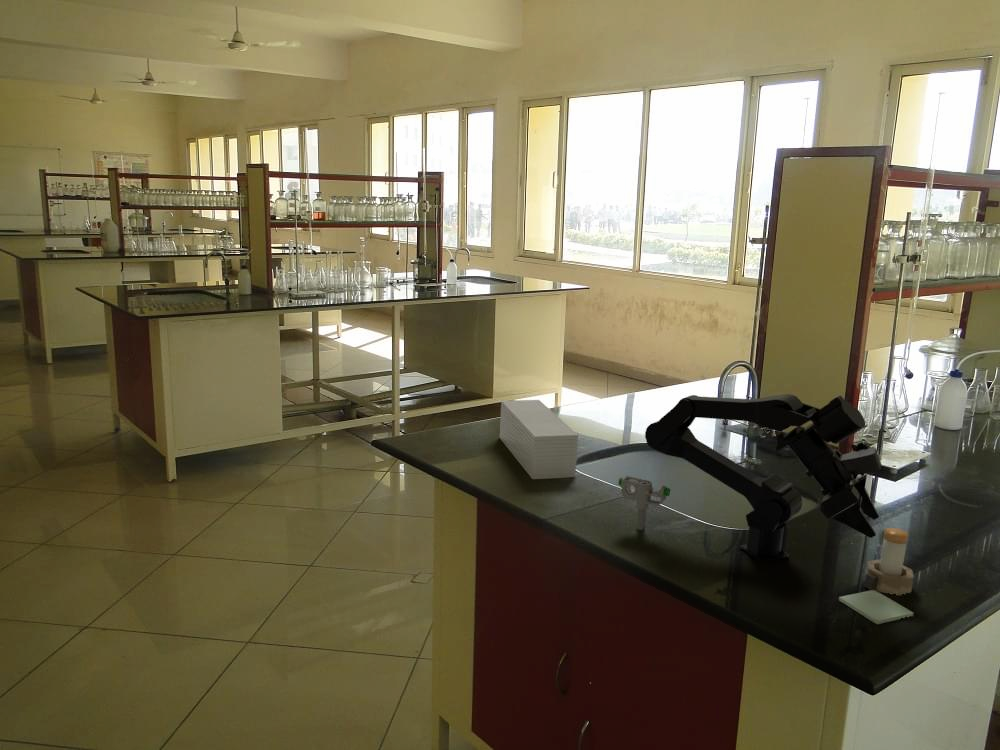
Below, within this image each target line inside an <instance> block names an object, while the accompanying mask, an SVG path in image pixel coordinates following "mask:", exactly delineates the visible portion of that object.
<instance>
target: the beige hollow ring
mask: <svg viewBox="0 0 1000 750" xmlns="http://www.w3.org/2000/svg"><path fill="white" fill-rule="evenodd" d="M880 559H881V558H878V559H875V560H874V559H872V560H867V563H866V564H867V565H866V570H865V579H864V585H863V587H864V588H866V589H867V588H868V591H871V590H875V591H877V592H879V593H885V594H888V593H889V595H893V594H896V595H895V596H903V595H902V594H904V595H907V594H906V593H909V594H911V593H912V589H913V583H914V579H915V576H914V572H913V569H911V568H909V567H907V566H905V565H904V564H903V567H902V573H901V576H900V577H897V576H892V575H887V574H883V573H882V572H880V571H879V565H880ZM910 592H911V593H910Z"/></svg>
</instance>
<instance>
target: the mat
mask: <svg viewBox="0 0 1000 750" xmlns="http://www.w3.org/2000/svg"><path fill="white" fill-rule="evenodd" d="M838 601H839V602H841V603H842V604H844V605H845V606H847V607H849V608H850V609H852V610H854V611H855V612H857V613H858V614H860V615H862V616H864V618H866V619H868V620H869V621H871V622H872V623H874V624H876V625H881V624H884V623H889V622H892V621H898V620H901V618H903V619H906V618H905V617H907V618H911V617H914V612H913V611H911V610H909V609H908V608H906V607H904V606H903V605H901V604H899V603H898V602H896V601H894V600H893V599H891V598H889V597H887V596H886V595H884V594H882V592H879V591H878V590H866V591H861V592H857V593H852V594H847V595H843V596H838ZM910 616H911V617H910Z"/></svg>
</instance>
